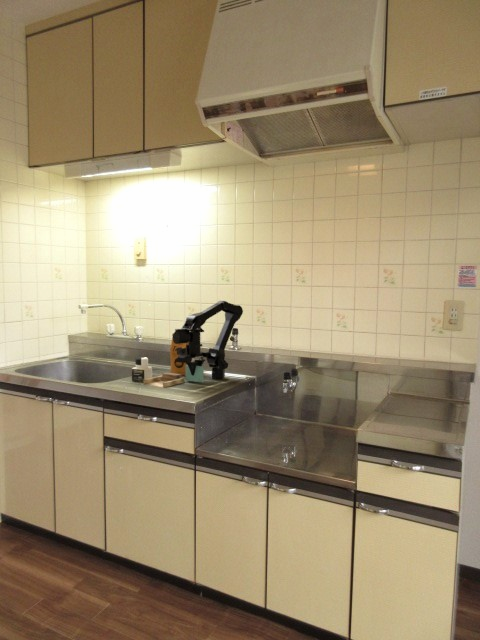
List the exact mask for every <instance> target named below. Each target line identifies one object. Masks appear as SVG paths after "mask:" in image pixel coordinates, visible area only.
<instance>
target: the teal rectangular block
mask: <svg viewBox="0 0 480 640" xmlns="http://www.w3.org/2000/svg"><path fill="white" fill-rule="evenodd" d="M204 369H205V368H204V366H203V365H202V366H196V369H195V373H194V376H192V375H191V372H190V369H189V367H188V365H185V370H186V376H185V381H189V382H190V381H191V382H197V383H203V382H204V379H205V378H204V377H205V376H204V374H205V373H204V372H205V371H204Z"/></svg>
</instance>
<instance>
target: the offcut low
mask: <svg viewBox="0 0 480 640" xmlns="http://www.w3.org/2000/svg"><path fill="white" fill-rule="evenodd" d="M179 379H180V378H179ZM172 380H176V379H170V378H162V377H161V381H164V382H168V381H172Z"/></svg>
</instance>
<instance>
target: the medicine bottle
mask: <svg viewBox="0 0 480 640" xmlns="http://www.w3.org/2000/svg"><path fill="white" fill-rule="evenodd" d="M149 378H153V367H152V366H149V358H148V357H146V356H139V357H137V358H135V367H132V368H131V381H133V382H139V383H144V380H145V379H149Z"/></svg>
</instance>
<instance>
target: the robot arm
mask: <svg viewBox="0 0 480 640" xmlns="http://www.w3.org/2000/svg"><path fill="white" fill-rule="evenodd" d="M221 311H222V312H224V318H225V321H224V323H223V325H222V327H221V331H220V333H219V335H218V338H217V340H216V343H215V345H214V347H209V349H208V351H204V350H201V347H203V344H202V343H201V333H205V330H204V329H203V328H202V326H203V325H204V324H205V323H206V322H207V320H208V319H210V318H211V317H214V316H215V315H218V314H219V313H220V312H221ZM243 312H244V310H243V307H242V306H241V305H239V304H233V303H230V302H228V301H226V300H218V301H216V303H215V304H212V305H210V306H209V307H207V308H206V309H203V310H202V311H200V312H196V313H193V314H190V315H188V316H187V317H186V319H185V322H184V323H183V325H182V327H181V328H175V329H174V332H173V333H174V334H173V333H172V334H173V336H172V337H173V341H174V343H175V344H181V343H188V344H186V348H183V349H182V347H179V348H177V354H178V355H180V356H178V357H177V362H182V363H186V364H187V365H188V367H189V369H190V372H191V375H192V376H194V373H195V369H196V366H203V364H204V362H205V361H207V363H208V366H209V368H211V380H214V381H215V380H217V381H218V380H224V379H225V380H228V378H227V377H226V376H225V375H226V372H225V371H226V369H228V367H229V363H228V362H227V361H226V360H225V358H226V354H225V353H226V351H225V349H226V346H227V344H228V341H229V339H230V337H231V334H232V332H233V329H234V326H235V325H236V323H237V322H238V321H239V320H240V318H241V317H242V315H243V314H244V313H243ZM188 355H189V356H188ZM204 358H206V359H204Z"/></svg>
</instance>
